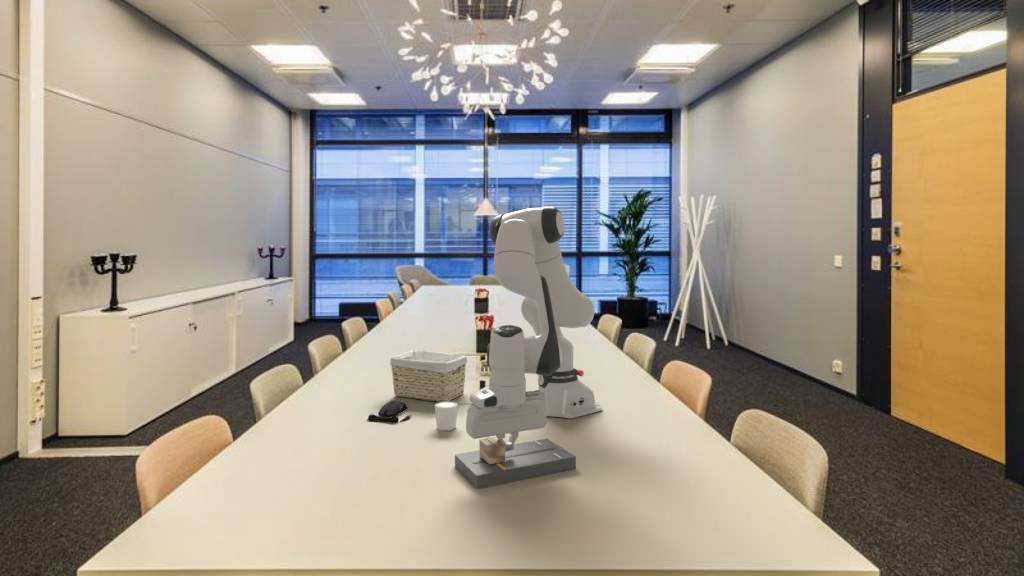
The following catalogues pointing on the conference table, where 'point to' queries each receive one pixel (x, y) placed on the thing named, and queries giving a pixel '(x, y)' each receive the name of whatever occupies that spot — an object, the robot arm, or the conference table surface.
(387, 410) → the computer mouse
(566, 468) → the fader console
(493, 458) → the fader tab
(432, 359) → the storage basket
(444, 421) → the white cup
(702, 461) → the conference table surface
